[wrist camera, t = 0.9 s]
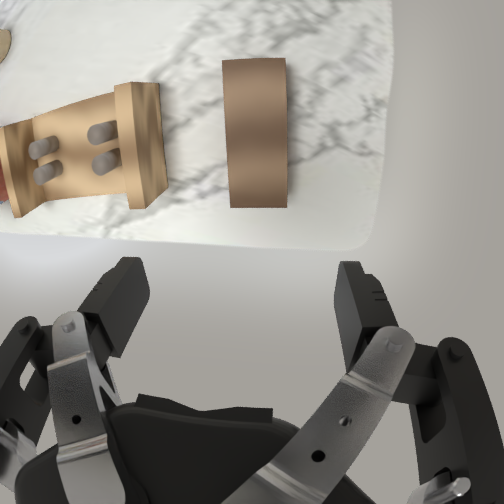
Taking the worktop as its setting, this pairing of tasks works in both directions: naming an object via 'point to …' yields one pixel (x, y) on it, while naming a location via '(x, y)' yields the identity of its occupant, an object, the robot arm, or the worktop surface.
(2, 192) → the canned food
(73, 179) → the peg frame
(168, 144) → the worktop surface
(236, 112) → the brown wooden block
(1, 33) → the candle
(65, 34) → the worktop surface
